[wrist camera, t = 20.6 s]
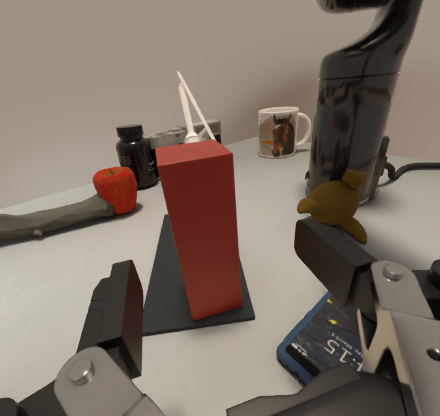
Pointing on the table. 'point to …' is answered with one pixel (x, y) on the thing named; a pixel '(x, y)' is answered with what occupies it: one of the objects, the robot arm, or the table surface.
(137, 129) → the supplement bottle
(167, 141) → the camera
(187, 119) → the miniature sculpture
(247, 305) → the mat
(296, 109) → the mug
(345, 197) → the figurine
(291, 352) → the smartphone
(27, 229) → the bone
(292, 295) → the table surface
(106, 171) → the apple
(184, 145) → the red block
